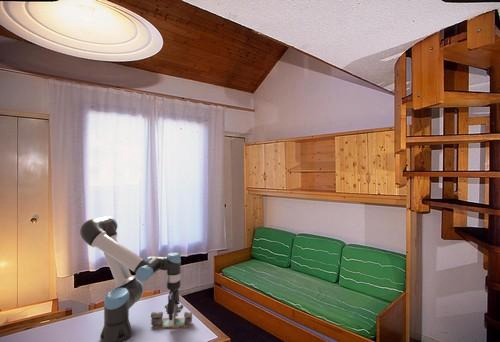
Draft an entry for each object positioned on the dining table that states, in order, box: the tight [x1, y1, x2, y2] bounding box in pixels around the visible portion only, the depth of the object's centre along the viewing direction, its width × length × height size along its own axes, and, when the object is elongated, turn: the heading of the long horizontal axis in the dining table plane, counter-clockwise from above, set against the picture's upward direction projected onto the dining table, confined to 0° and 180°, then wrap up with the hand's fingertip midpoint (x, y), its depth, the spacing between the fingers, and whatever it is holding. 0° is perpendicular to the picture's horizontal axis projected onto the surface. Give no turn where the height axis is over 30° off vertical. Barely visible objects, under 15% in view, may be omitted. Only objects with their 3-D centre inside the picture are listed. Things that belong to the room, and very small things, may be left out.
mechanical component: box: [164, 303, 184, 323], centre depth 153 cm, size 3×10×10 cm, turn 89°
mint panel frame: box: [150, 311, 193, 329], centre depth 154 cm, size 23×9×7 cm, turn 91°
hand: (173, 320), depth 153 cm, fingers open, 8 cm apart
